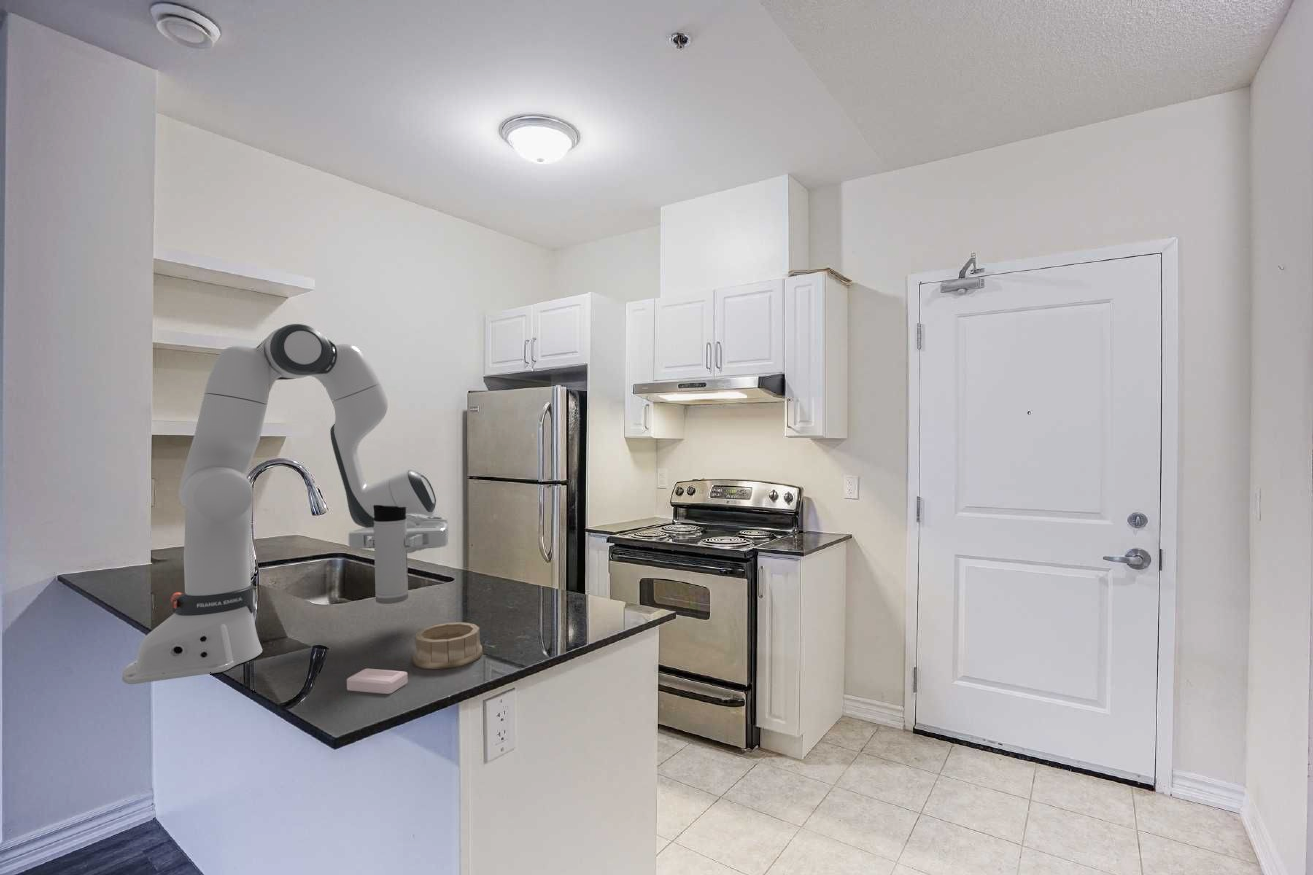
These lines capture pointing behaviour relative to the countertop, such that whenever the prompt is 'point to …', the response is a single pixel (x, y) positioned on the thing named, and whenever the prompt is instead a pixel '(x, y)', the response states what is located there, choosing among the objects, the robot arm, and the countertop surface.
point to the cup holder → (447, 645)
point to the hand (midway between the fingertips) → (389, 543)
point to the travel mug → (390, 554)
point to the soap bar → (377, 681)
